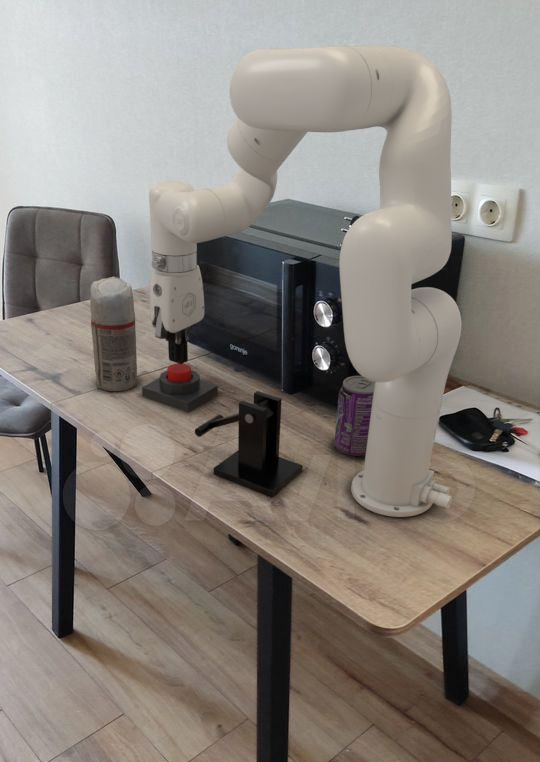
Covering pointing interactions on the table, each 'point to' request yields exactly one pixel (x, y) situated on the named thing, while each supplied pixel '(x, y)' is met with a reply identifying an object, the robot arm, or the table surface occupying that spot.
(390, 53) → the robot arm
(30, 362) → the table surface
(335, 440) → the beverage can
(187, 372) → the button
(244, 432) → the bracket
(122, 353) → the spray can
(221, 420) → the lever
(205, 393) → the button block
